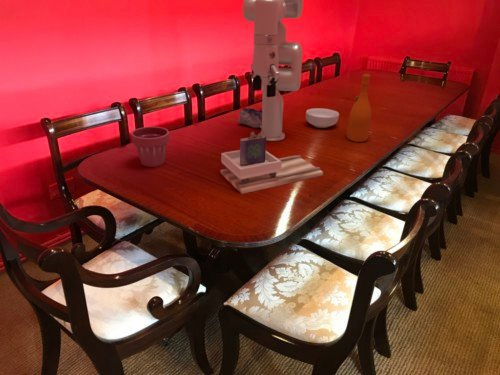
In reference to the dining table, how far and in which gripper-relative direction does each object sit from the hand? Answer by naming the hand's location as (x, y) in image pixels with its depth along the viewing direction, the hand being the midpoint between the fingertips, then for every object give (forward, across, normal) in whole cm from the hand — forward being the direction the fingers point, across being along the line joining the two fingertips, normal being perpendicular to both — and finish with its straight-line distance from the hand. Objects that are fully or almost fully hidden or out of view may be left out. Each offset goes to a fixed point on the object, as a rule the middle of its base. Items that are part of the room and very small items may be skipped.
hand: (263, 93), depth 132 cm
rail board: (+30, -2, -3) cm, 31 cm away
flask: (+24, -2, +5) cm, 25 cm away
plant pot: (+31, +28, +34) cm, 54 cm away
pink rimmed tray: (+28, -3, +6) cm, 28 cm away
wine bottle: (+31, +14, -59) cm, 68 cm away
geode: (+31, +52, -26) cm, 66 cm away
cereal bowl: (+31, +38, -56) cm, 74 cm away
